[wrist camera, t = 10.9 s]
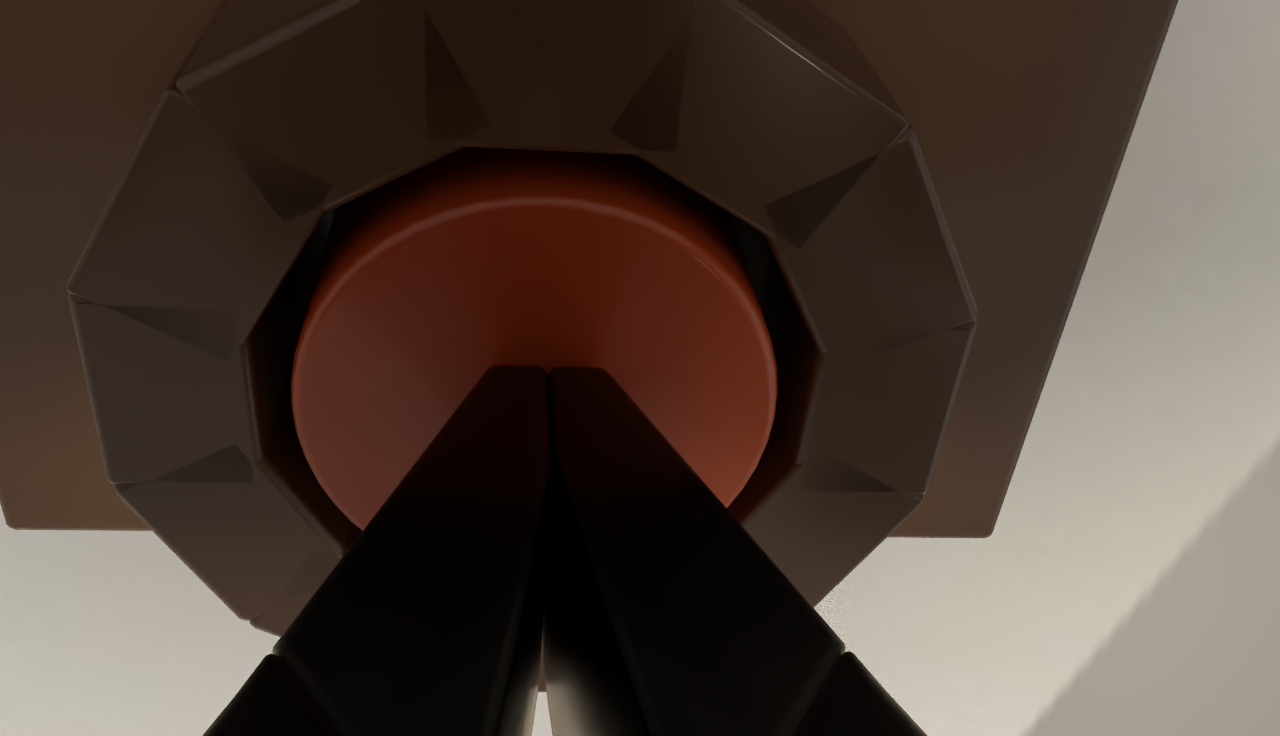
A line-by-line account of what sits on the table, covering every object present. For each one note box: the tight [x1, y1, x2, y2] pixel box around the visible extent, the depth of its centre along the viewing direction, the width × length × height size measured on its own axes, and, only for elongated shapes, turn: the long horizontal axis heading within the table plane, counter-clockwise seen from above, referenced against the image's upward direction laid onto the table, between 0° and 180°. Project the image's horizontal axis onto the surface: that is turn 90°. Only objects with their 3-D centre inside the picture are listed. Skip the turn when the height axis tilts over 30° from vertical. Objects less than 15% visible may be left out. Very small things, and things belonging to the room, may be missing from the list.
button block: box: [0, 0, 1178, 692], centre depth 10 cm, size 10×8×4 cm
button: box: [291, 147, 778, 531], centre depth 9 cm, size 4×4×2 cm
